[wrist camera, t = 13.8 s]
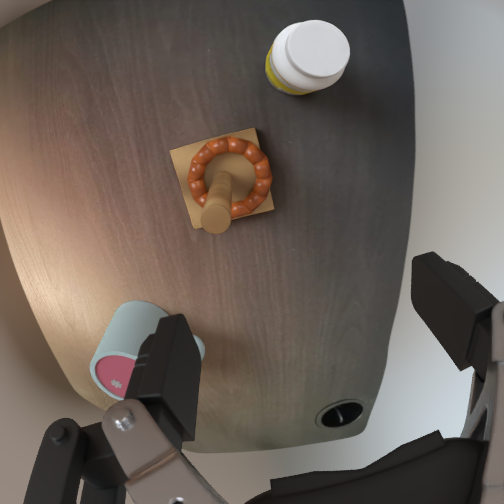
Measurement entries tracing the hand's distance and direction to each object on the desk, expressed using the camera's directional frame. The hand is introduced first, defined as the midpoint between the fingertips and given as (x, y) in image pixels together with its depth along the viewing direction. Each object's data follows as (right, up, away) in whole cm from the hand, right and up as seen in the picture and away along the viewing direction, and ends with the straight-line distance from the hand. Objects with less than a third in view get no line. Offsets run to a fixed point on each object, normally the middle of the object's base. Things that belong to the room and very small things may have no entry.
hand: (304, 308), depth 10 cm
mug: (-14, -8, +31) cm, 35 cm away
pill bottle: (+2, +21, +18) cm, 28 cm away
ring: (-4, +9, +21) cm, 23 cm away
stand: (-5, +10, +23) cm, 25 cm away
